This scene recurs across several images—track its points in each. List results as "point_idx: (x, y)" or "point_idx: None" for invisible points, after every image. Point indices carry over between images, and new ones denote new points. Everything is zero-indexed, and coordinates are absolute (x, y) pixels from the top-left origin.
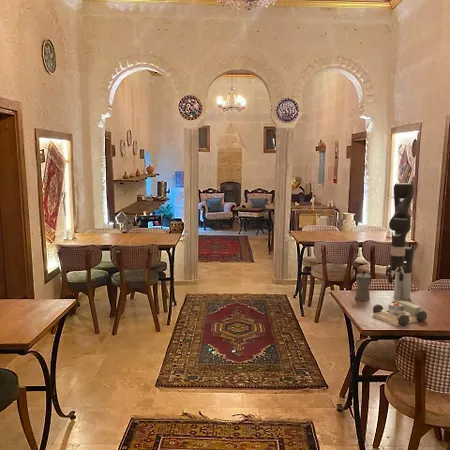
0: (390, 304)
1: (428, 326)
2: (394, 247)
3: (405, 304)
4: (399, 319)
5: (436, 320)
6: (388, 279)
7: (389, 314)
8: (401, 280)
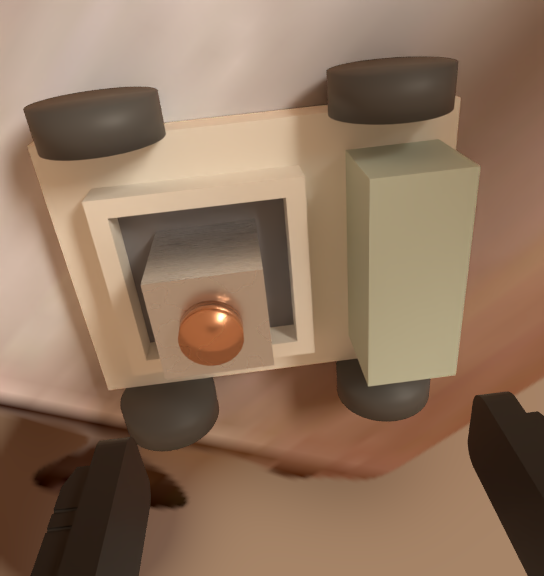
0: (148, 302)
1: (335, 421)
2: None
3: (369, 286)
4: (122, 413)
5: (488, 362)
6: (48, 536)
7: (113, 303)
8: (475, 452)
